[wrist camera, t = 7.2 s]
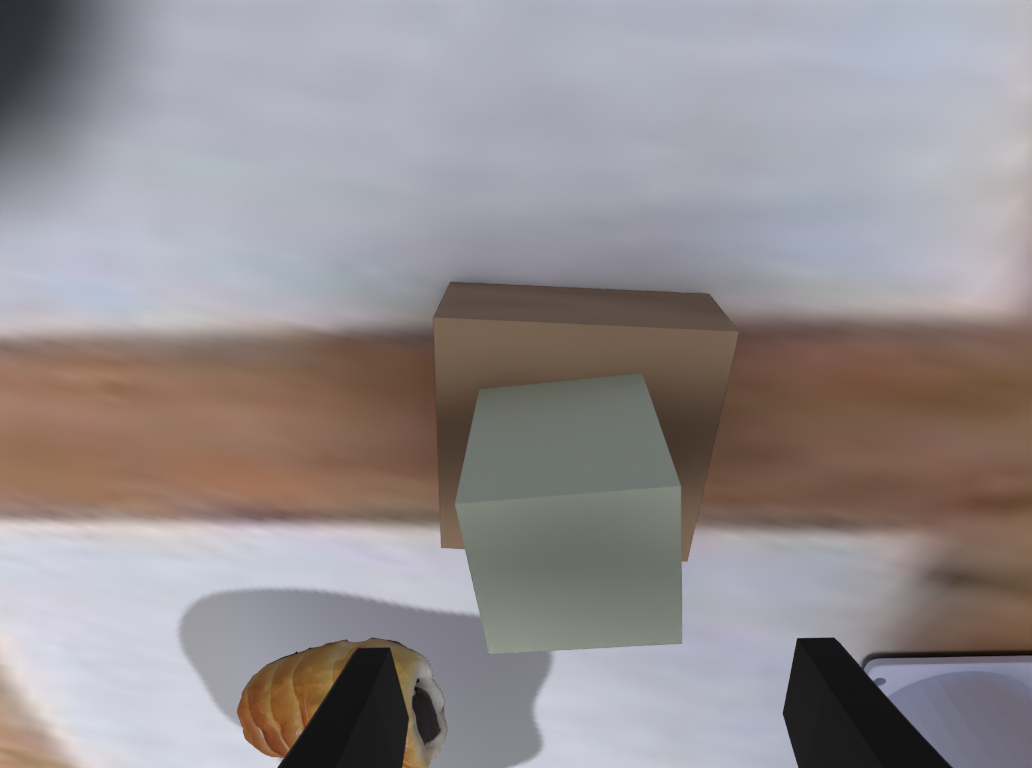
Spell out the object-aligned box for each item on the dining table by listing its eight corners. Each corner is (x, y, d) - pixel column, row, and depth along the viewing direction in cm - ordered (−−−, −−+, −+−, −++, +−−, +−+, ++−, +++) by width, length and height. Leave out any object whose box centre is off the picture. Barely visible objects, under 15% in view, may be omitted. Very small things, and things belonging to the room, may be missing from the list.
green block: (647, 504, 18) (682, 643, 13) (502, 515, 18) (489, 653, 14) (642, 373, 16) (681, 486, 11) (479, 389, 16) (454, 503, 12)
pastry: (283, 733, 30) (248, 817, 26) (226, 643, 27) (179, 724, 23) (460, 716, 28) (448, 801, 25) (420, 619, 25) (401, 701, 22)
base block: (666, 493, 22) (687, 561, 19) (455, 482, 22) (441, 547, 19) (705, 289, 18) (739, 331, 15) (451, 278, 18) (433, 317, 15)
